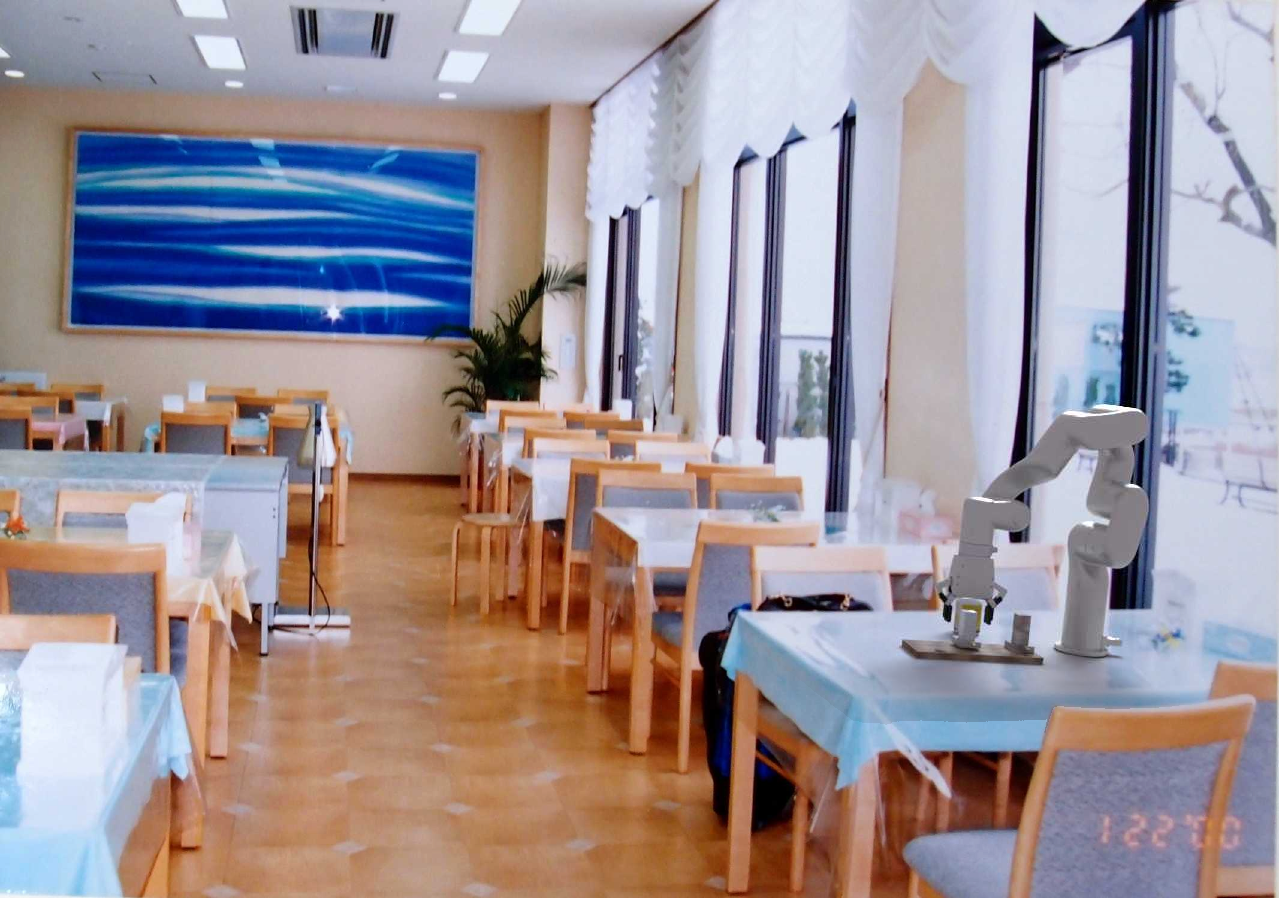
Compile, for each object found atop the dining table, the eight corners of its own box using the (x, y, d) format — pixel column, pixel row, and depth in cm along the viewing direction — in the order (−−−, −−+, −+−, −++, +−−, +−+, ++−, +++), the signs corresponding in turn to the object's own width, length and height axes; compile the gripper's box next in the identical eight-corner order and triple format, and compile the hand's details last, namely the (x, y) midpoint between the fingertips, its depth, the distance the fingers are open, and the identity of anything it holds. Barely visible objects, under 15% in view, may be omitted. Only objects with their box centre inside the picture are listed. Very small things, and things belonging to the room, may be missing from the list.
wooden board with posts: (1023, 651, 339) (1027, 610, 338) (1042, 664, 327) (1047, 621, 326) (901, 645, 335) (905, 603, 334) (916, 657, 323) (920, 614, 323)
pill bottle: (984, 636, 353) (988, 590, 352) (960, 635, 352) (965, 589, 351) (971, 630, 360) (976, 585, 358) (948, 629, 358) (952, 584, 357)
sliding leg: (971, 642, 335) (975, 609, 335) (985, 651, 327) (988, 617, 326) (951, 641, 335) (954, 607, 334) (964, 650, 326) (967, 616, 325)
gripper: (1004, 550, 335) (997, 621, 336) (934, 545, 333) (926, 616, 334) (1016, 555, 327) (1008, 628, 329) (944, 550, 325) (936, 623, 327)
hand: (967, 622), depth 332 cm, fingers open, 9 cm apart
